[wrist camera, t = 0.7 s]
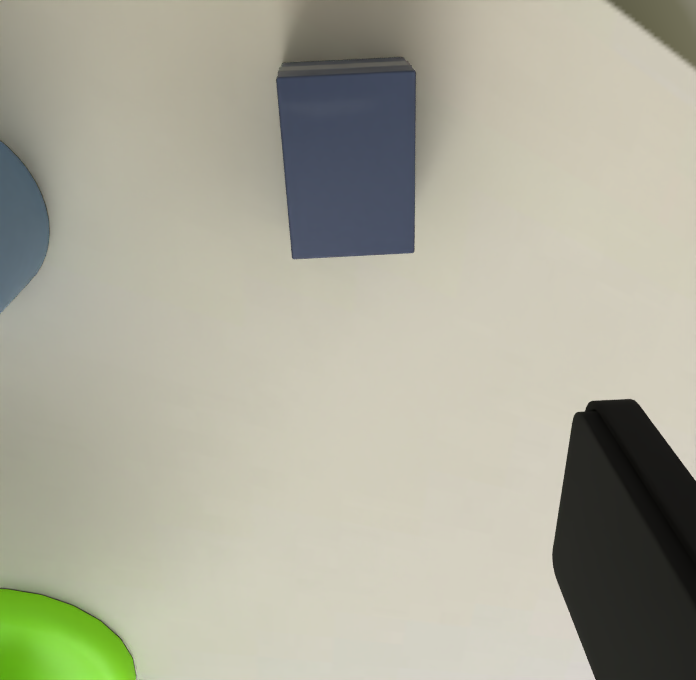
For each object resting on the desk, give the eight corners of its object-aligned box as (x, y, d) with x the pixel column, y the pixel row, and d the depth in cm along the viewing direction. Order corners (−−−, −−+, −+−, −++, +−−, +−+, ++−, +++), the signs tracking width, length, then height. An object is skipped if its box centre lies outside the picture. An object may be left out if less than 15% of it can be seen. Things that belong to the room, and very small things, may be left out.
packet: (280, 62, 27) (275, 76, 24) (404, 56, 27) (416, 69, 24) (295, 226, 31) (291, 260, 27) (404, 220, 31) (415, 254, 27)
